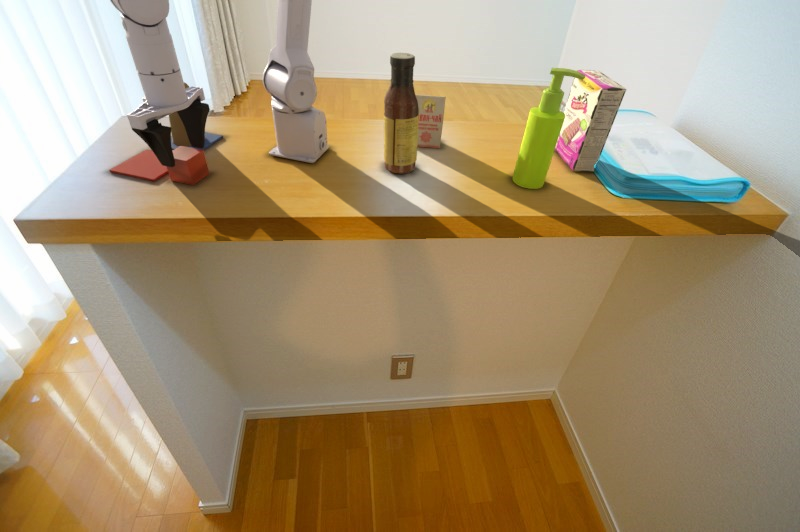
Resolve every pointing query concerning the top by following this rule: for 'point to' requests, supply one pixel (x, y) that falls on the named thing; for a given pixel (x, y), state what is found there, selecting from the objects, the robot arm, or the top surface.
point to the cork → (178, 129)
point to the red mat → (142, 167)
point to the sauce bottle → (401, 116)
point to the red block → (188, 165)
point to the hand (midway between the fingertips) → (183, 155)
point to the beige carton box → (430, 120)
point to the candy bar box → (588, 119)
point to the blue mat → (208, 141)
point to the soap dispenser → (542, 133)
